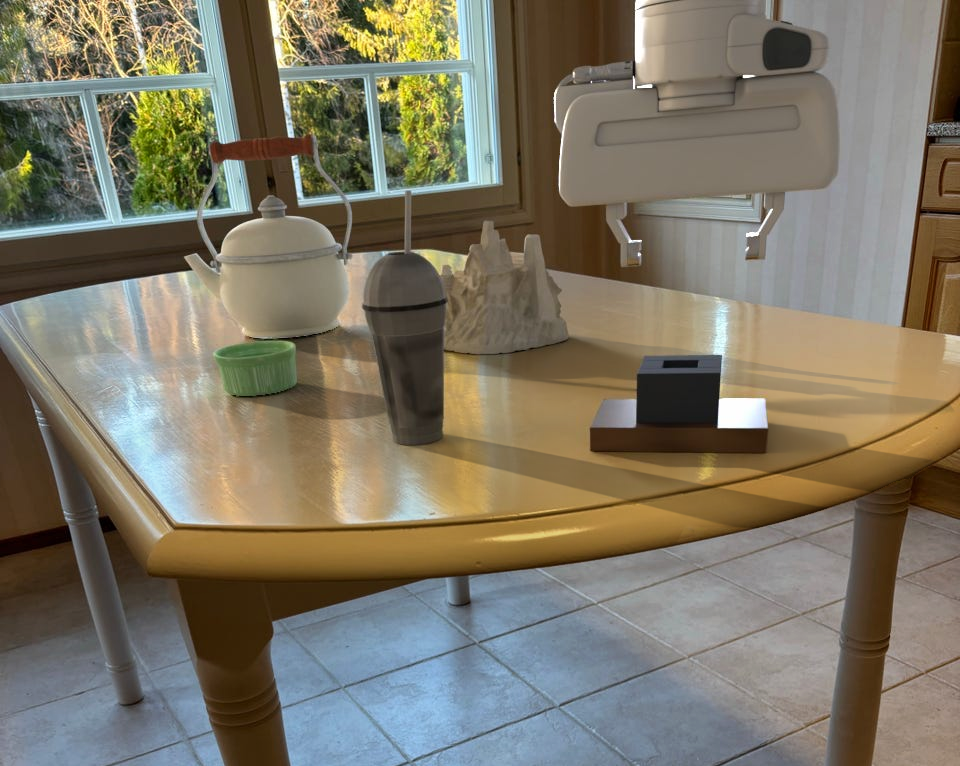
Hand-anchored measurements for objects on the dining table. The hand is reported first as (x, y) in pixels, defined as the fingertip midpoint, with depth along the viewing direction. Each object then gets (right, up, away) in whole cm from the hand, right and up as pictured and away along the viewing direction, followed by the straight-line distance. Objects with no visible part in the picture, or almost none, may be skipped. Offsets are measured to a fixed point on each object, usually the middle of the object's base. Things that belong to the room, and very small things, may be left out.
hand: (692, 262), depth 72 cm
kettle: (-46, +16, +64) cm, 80 cm away
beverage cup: (-22, -11, +11) cm, 27 cm away
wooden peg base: (0, -12, +7) cm, 14 cm away
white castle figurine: (-14, +9, +47) cm, 50 cm away
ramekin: (-41, -1, +32) cm, 52 cm away
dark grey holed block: (0, -10, +6) cm, 12 cm away
